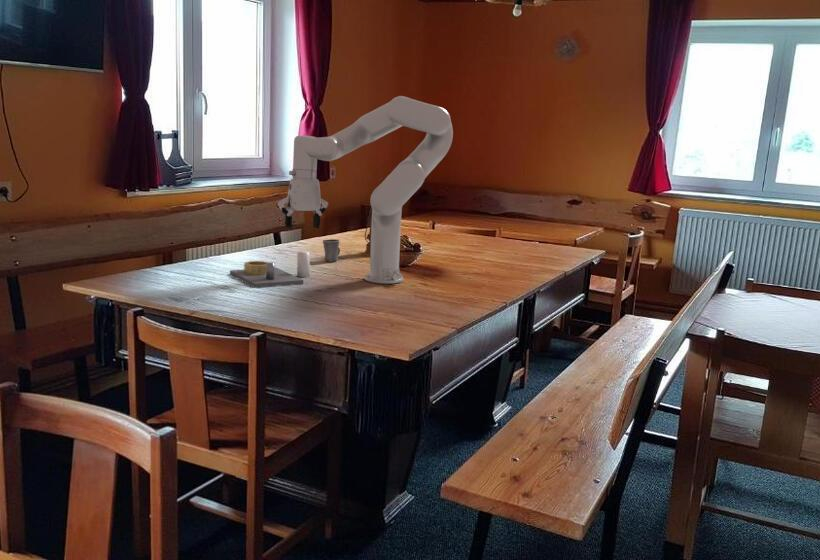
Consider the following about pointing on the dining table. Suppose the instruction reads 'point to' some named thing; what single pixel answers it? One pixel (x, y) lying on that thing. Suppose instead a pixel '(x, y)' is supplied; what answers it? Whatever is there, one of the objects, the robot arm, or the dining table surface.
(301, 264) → the white rounded peg
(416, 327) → the dining table surface
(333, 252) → the grey mug
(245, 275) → the fitting board
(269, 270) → the small stub
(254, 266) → the brass socket
